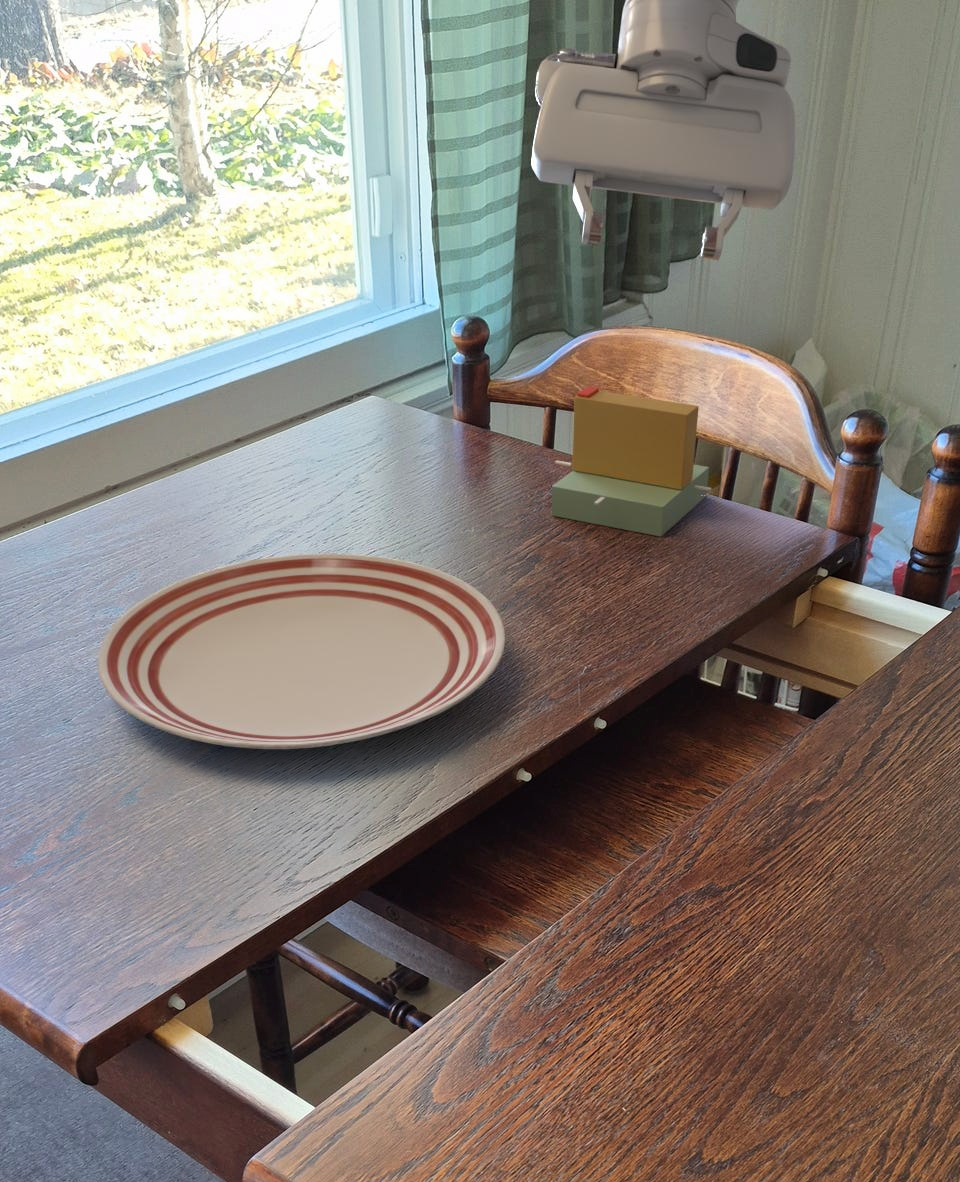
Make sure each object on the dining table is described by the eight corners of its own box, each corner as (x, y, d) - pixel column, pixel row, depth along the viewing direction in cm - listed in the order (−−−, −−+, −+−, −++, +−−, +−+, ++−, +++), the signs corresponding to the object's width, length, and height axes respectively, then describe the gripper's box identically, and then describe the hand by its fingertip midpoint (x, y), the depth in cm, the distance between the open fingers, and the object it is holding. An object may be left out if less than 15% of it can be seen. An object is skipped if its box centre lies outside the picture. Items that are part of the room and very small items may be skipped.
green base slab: (738, 492, 124) (741, 461, 122) (674, 551, 115) (677, 518, 113) (589, 466, 129) (590, 435, 127) (517, 520, 120) (517, 488, 118)
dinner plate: (407, 817, 85) (405, 768, 83) (23, 736, 93) (11, 689, 91) (560, 627, 104) (561, 583, 102) (230, 573, 112) (225, 531, 110)
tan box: (692, 480, 119) (699, 402, 115) (681, 490, 118) (688, 411, 114) (583, 461, 123) (586, 385, 119) (571, 470, 121) (574, 393, 117)
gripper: (542, 20, 107) (520, 213, 109) (812, 55, 108) (787, 246, 109) (538, 69, 114) (517, 250, 115) (793, 101, 114) (769, 282, 115)
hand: (650, 249), depth 112 cm, fingers open, 8 cm apart
